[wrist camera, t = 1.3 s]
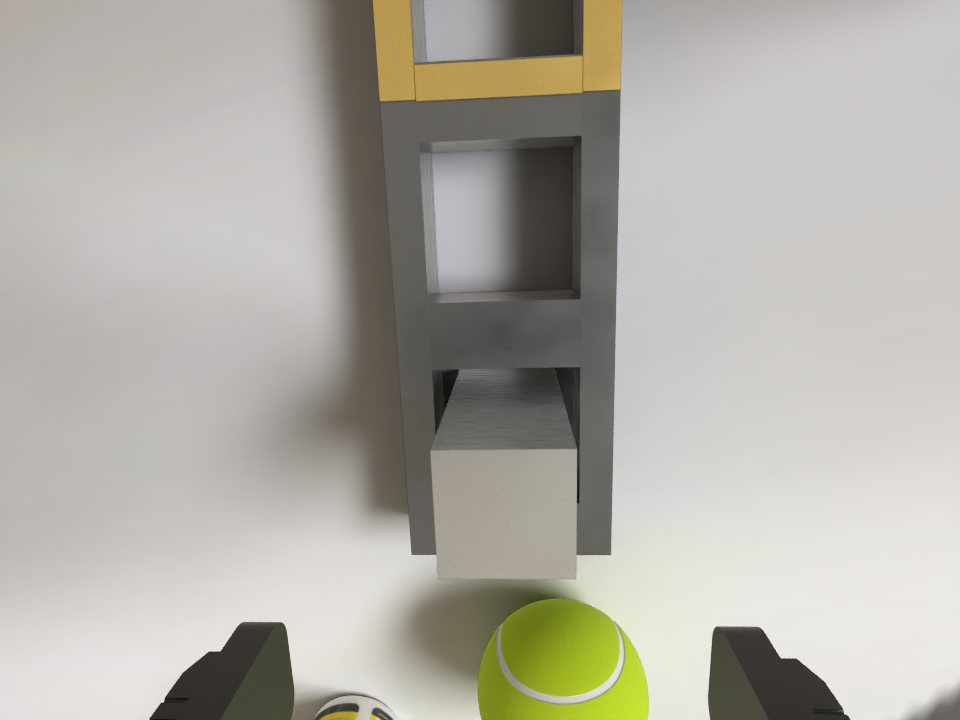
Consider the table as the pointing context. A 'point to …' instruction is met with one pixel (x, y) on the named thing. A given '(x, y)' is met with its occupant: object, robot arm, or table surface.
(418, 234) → the grey long flat frame
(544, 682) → the tennis ball
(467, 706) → the table surface
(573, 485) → the brushed metal square block
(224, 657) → the robot arm
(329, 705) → the supplement bottle
